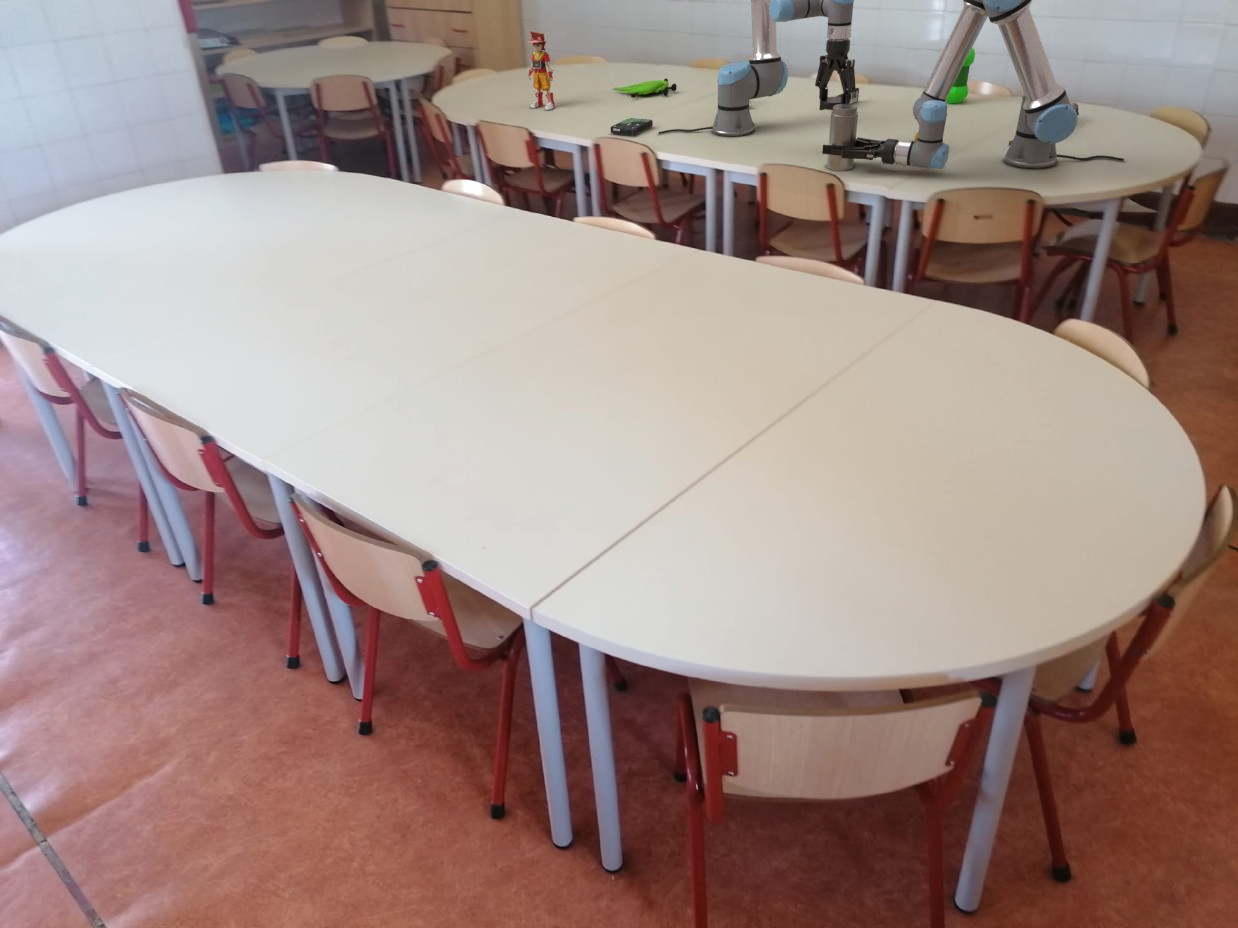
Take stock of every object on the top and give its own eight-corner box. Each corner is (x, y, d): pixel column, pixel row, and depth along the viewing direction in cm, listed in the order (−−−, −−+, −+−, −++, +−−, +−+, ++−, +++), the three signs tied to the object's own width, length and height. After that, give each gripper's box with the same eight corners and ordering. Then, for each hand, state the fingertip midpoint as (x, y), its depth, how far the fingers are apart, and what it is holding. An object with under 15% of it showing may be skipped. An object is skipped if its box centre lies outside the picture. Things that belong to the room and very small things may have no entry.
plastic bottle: (973, 101, 354) (984, 32, 339) (955, 106, 349) (966, 36, 335) (952, 97, 361) (962, 29, 346) (934, 102, 356) (944, 33, 342)
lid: (823, 103, 307) (823, 96, 305) (850, 104, 303) (850, 97, 302) (816, 109, 300) (817, 102, 298) (844, 110, 296) (845, 103, 295)
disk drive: (633, 137, 337) (653, 126, 347) (633, 129, 336) (652, 119, 346) (610, 134, 342) (630, 124, 352) (609, 127, 340) (630, 117, 350)
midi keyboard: (835, 110, 353) (837, 97, 350) (833, 110, 354) (834, 97, 351) (858, 101, 363) (859, 88, 361) (855, 101, 364) (856, 88, 361)
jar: (858, 166, 294) (864, 105, 284) (843, 172, 290) (848, 111, 279) (836, 161, 300) (841, 102, 289) (821, 167, 295) (826, 107, 284)
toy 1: (525, 109, 381) (517, 32, 364) (534, 104, 388) (527, 28, 371) (550, 110, 377) (543, 32, 360) (559, 105, 384) (553, 28, 367)
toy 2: (686, 85, 398) (631, 84, 414) (685, 72, 395) (629, 72, 411) (651, 104, 381) (596, 103, 397) (650, 92, 378) (594, 91, 394)
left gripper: (806, 37, 296) (802, 108, 309) (854, 44, 280) (848, 119, 293) (823, 34, 299) (818, 105, 312) (871, 41, 284) (865, 115, 296)
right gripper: (885, 173, 278) (815, 166, 288) (904, 155, 293) (837, 148, 303) (888, 149, 274) (817, 142, 284) (907, 131, 288) (839, 125, 298)
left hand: (833, 112), depth 302 cm, fingers closed on lid, 9 cm apart
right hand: (827, 145), depth 293 cm, fingers closed on jar, 8 cm apart
